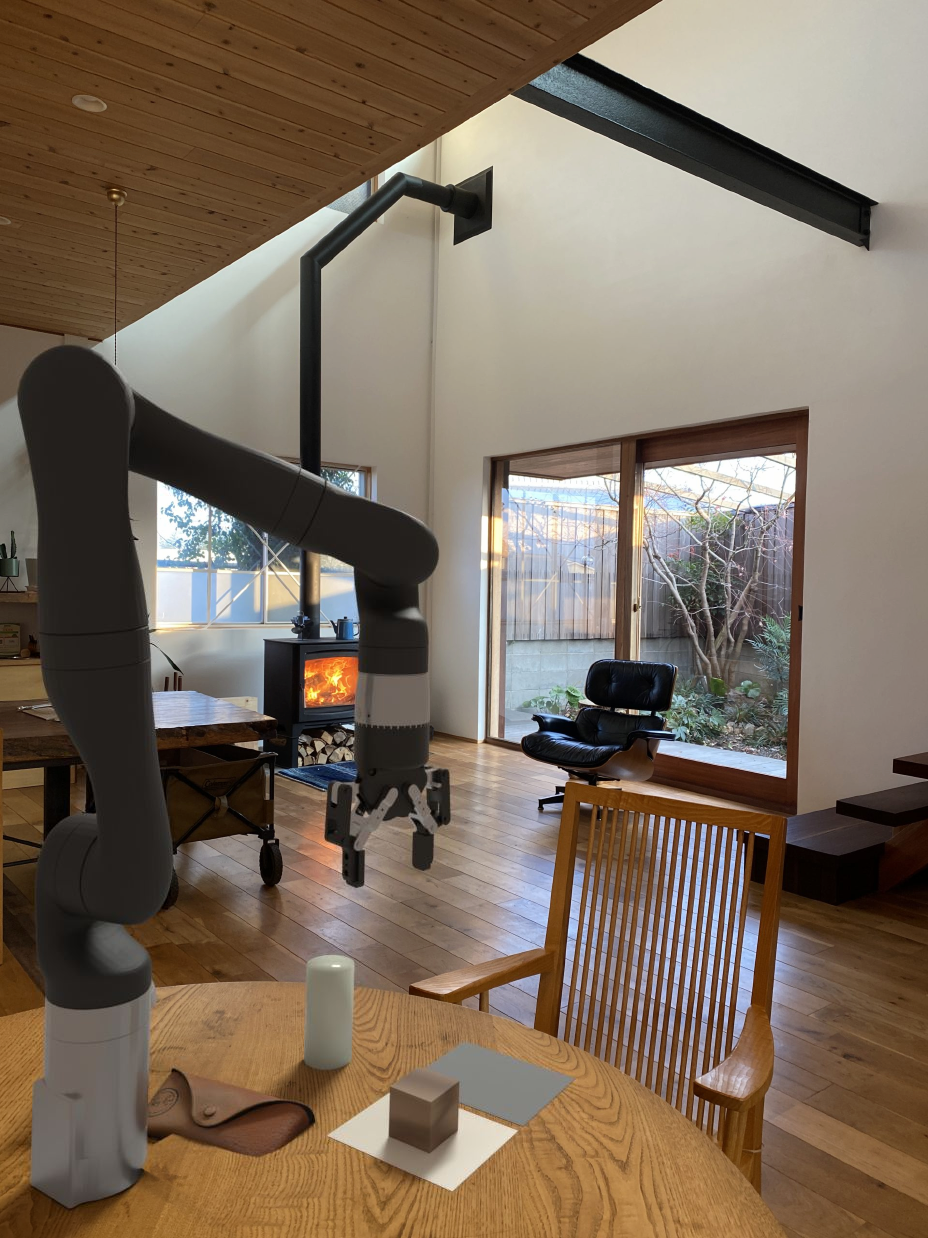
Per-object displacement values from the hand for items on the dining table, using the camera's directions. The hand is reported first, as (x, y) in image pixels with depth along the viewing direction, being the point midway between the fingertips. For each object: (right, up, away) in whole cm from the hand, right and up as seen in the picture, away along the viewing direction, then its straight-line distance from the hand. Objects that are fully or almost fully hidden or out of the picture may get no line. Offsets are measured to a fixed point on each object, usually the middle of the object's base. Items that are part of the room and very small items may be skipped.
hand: (389, 877), depth 93 cm
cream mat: (+3, -27, 0) cm, 27 cm away
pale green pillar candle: (-8, -26, +14) cm, 31 cm away
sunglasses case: (-17, -27, +1) cm, 32 cm away
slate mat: (+11, -27, +11) cm, 31 cm away
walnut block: (+3, -26, 0) cm, 26 cm away
